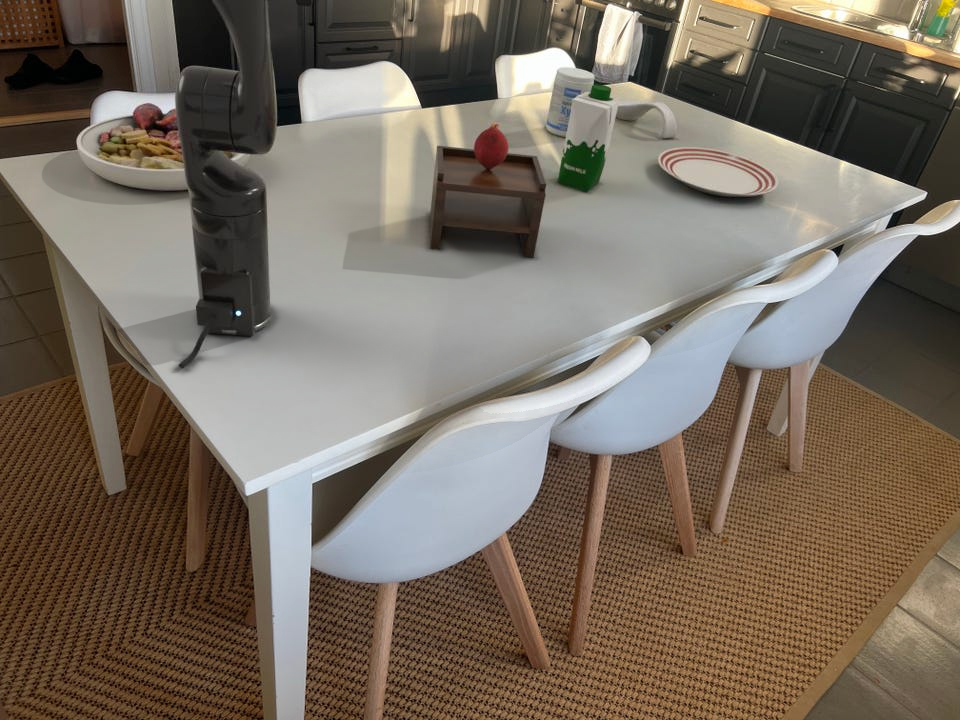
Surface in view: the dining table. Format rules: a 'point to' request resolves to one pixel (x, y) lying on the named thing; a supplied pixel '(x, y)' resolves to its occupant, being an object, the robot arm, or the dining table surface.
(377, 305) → the dining table surface
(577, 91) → the supplement tub
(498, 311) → the dining table surface
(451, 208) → the shelf stand
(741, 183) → the dinner plate
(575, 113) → the milk carton
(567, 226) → the dining table surface
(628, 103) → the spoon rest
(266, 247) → the robot arm
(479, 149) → the onion
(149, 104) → the bowl
